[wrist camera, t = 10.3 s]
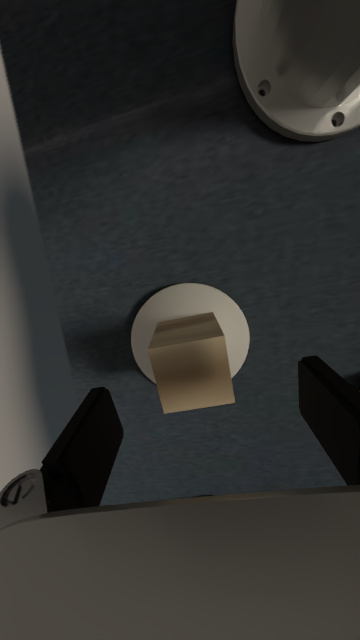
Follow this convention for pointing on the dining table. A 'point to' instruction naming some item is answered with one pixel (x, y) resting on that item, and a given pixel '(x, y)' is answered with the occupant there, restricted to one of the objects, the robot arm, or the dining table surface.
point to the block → (191, 363)
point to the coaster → (184, 304)
